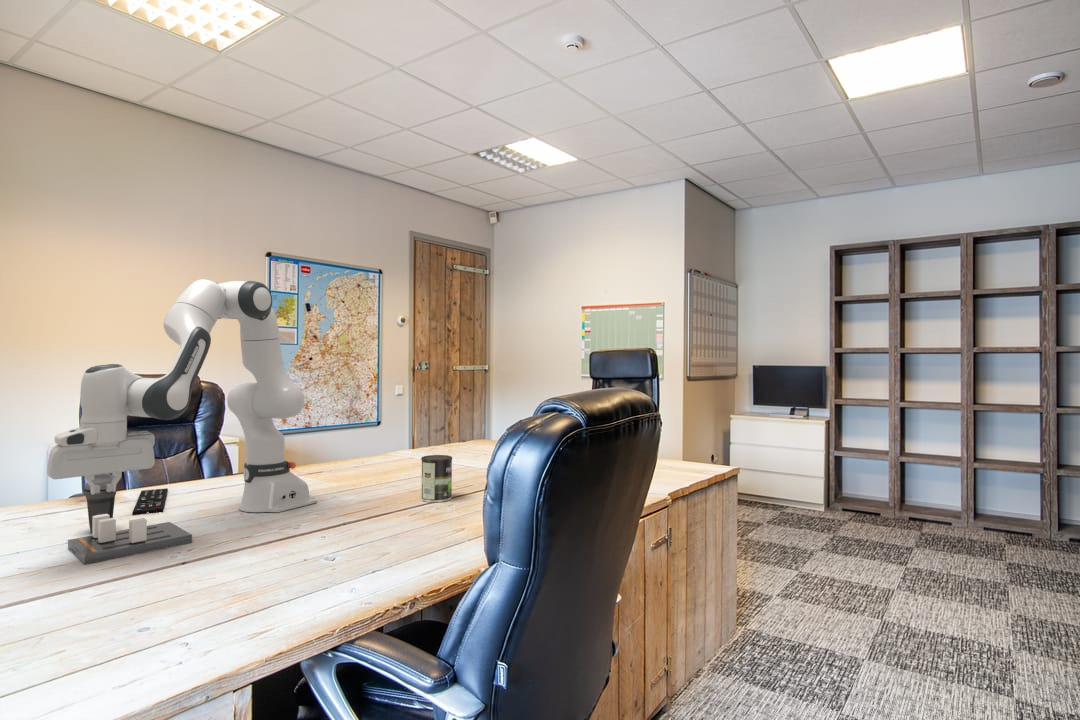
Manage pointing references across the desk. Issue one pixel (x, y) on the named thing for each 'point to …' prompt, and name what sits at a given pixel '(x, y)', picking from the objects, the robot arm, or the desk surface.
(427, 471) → the coffee can
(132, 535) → the block
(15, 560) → the desk surface
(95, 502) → the beverage cup
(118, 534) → the grey slider panel
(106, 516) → the block
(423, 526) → the desk surface
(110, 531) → the block
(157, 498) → the remote control
